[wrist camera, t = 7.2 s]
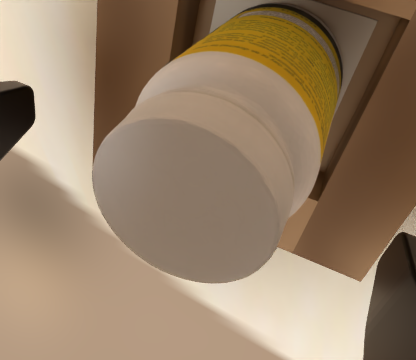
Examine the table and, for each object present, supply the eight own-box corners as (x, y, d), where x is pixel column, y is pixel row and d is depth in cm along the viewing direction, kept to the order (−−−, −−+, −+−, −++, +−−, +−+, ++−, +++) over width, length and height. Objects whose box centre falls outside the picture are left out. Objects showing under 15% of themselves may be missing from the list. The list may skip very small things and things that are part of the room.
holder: (566, -81, 10) (618, -78, 8) (363, 232, 18) (360, 281, 15) (156, -182, 12) (103, -203, 10) (127, 138, 20) (92, 169, 17)
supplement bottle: (226, -16, 13) (68, 54, 7) (368, 22, 12) (348, 147, 6) (203, 111, 16) (77, 248, 10) (316, 149, 15) (263, 329, 9)
